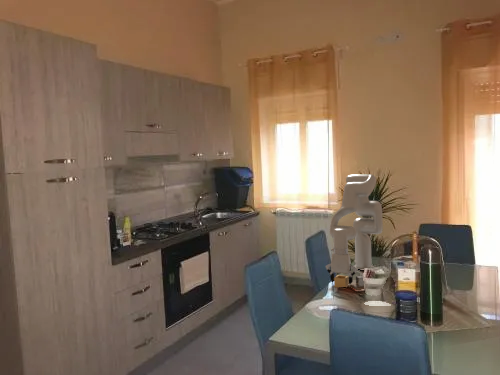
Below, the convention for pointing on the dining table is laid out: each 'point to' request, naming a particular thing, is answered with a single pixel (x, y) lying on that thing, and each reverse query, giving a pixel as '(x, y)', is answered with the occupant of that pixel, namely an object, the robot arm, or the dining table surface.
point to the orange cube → (341, 281)
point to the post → (359, 281)
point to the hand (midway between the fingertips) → (341, 282)
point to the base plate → (356, 287)
